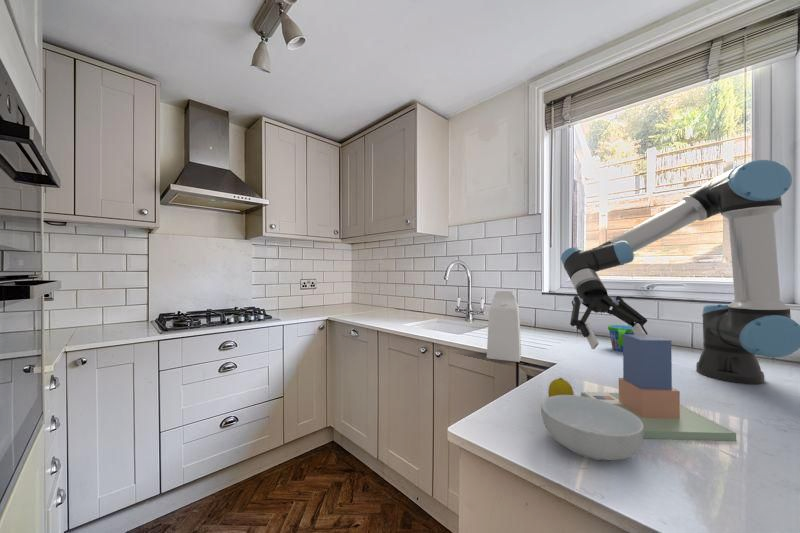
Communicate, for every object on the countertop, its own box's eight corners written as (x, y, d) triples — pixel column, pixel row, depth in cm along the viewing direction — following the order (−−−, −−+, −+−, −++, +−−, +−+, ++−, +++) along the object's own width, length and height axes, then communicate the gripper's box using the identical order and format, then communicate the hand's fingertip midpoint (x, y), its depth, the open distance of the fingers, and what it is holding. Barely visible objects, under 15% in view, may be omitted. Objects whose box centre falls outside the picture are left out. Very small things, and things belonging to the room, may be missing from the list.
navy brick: (650, 379, 76) (650, 334, 76) (671, 389, 70) (671, 340, 70) (623, 379, 76) (623, 334, 77) (642, 389, 70) (641, 340, 70)
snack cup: (612, 345, 142) (612, 323, 142) (641, 349, 134) (641, 326, 134) (603, 351, 131) (603, 327, 131) (634, 356, 123) (634, 330, 123)
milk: (521, 354, 127) (521, 290, 127) (519, 361, 116) (519, 292, 116) (490, 351, 132) (490, 289, 132) (486, 358, 121) (486, 291, 121)
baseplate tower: (658, 399, 82) (658, 370, 83) (736, 440, 63) (735, 403, 63) (581, 397, 83) (581, 369, 84) (633, 438, 63) (633, 401, 64)
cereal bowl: (603, 488, 49) (603, 443, 49) (523, 436, 64) (522, 402, 64) (665, 461, 56) (665, 422, 56) (579, 420, 71) (579, 389, 71)
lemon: (543, 408, 77) (543, 375, 77) (559, 404, 80) (559, 372, 80) (562, 417, 72) (562, 383, 72) (579, 413, 74) (579, 379, 75)
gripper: (623, 294, 100) (662, 354, 84) (544, 294, 101) (568, 353, 85) (635, 278, 94) (678, 339, 79) (552, 278, 95) (579, 338, 80)
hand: (621, 346), depth 82 cm, fingers open, 13 cm apart
